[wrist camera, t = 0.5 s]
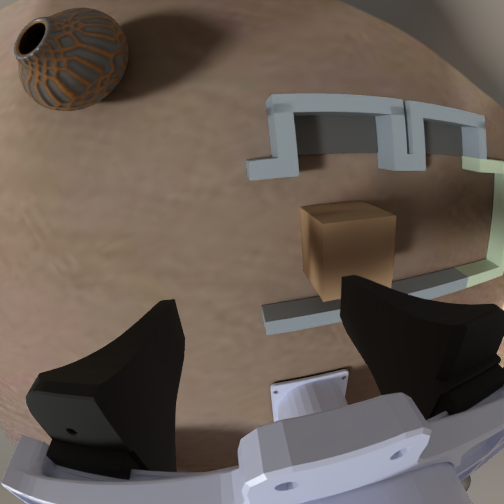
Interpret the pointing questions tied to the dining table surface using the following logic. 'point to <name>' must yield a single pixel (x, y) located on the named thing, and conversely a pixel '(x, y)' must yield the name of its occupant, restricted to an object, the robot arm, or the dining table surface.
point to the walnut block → (346, 245)
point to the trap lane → (389, 157)
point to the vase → (71, 58)
